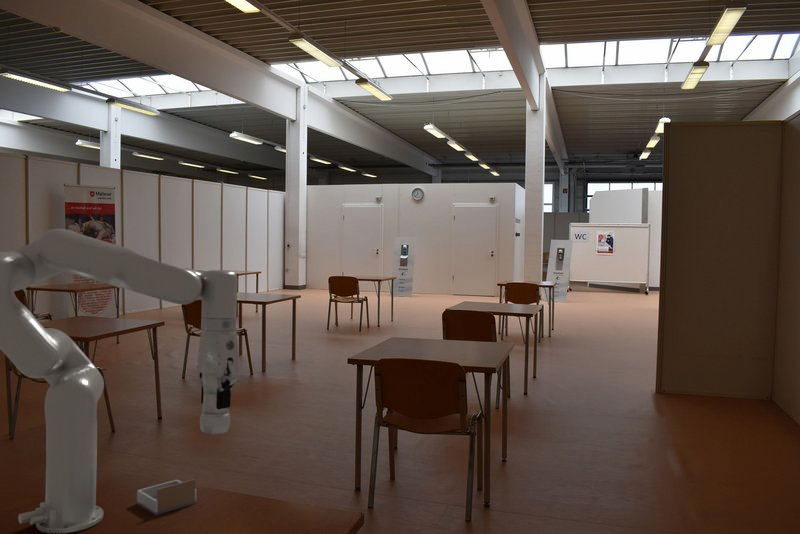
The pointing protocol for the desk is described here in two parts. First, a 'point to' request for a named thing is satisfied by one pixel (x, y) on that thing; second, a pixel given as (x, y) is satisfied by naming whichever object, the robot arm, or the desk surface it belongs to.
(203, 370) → the plastic bottle
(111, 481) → the desk surface
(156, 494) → the drawer
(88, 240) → the robot arm
